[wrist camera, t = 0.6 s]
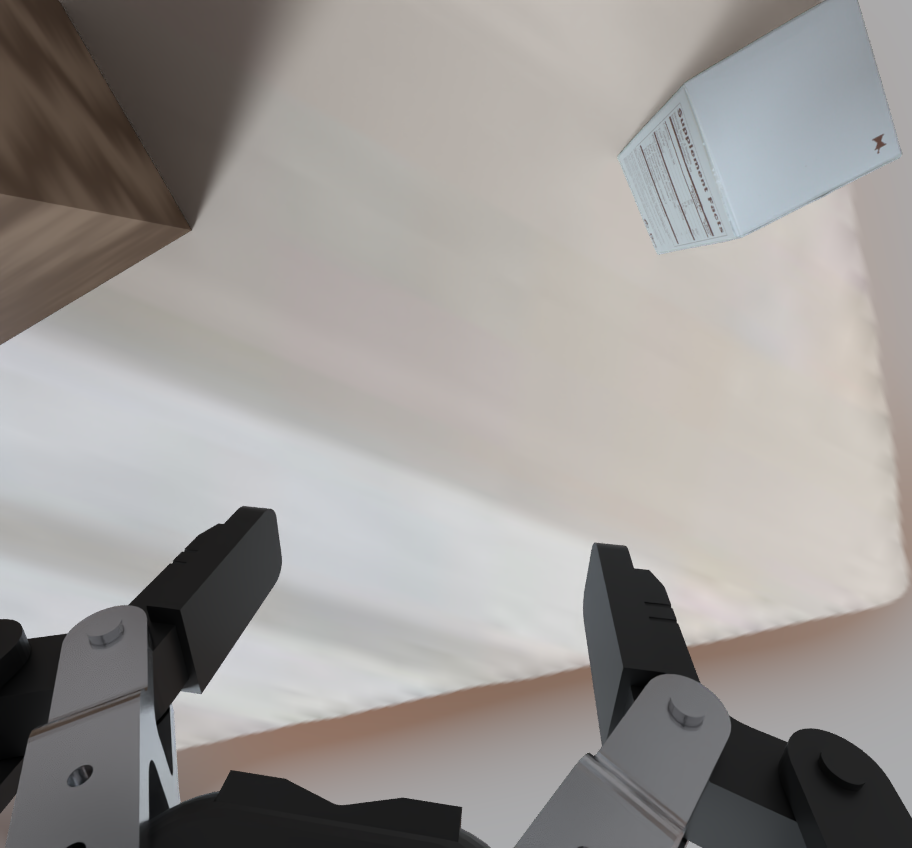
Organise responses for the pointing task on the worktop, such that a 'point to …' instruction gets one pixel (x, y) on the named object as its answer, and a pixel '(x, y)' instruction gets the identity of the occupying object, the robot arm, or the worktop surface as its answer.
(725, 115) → the supplement box
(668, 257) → the worktop surface
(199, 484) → the worktop surface
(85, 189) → the walnut stand
